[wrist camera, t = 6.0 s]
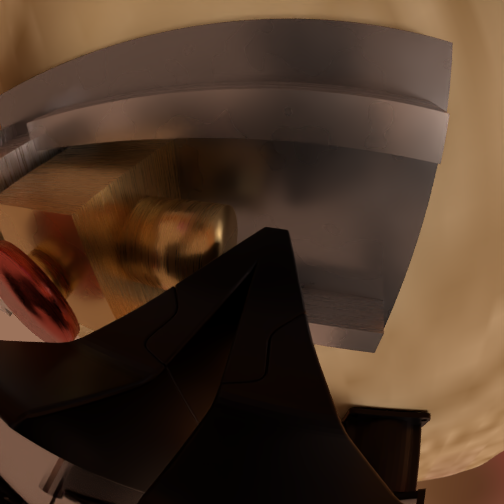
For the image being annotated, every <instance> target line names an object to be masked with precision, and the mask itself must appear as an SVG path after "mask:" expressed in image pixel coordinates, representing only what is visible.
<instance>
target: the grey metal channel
mask: <svg viewBox="0 0 504 504" xmlns="http://www.w3.org/2000/svg"><path fill="white" fill-rule="evenodd" d="M451 64H452V43H451V42H448V41H444V40H441V39H437V38H434V37H430V36H426V35H422V34H418V33H413V32H409V31H404V30H399V29H394V28H388V27H383V26H376V25H370V24H362V23H354V22H344V21H333V20H317V19H261V20H244V21H233V22H223V23H214V24H207V25H200V26H194V27H188V28H182V29H177V30H172V31H167V32H162V33H158V34H153V35H149V36H145V37H141V38H137V39H133V40H130V41H126V42H123V43H119V44H116V45H113V46H110V47H107V48H104V49H101V50H98V51H95V52H92V53H89V54H86V55H84V56H81V57H78V58H76V59H73V60H71V61H68V62H66V63H64V64H61V65H59V66H57V67H54V68H52V69H50V70H48V71H45V72H43V73H41V74H39V75H37V76H35V77H33V78H31V79H29V80H27V81H25V82H23V83H21V84H19V85H17V86H16V87H14V88H12V89H10V90H8V91H7V92H5V93H3V94H1V95H0V124H1V129H0V193H1V192H3V191H4V190H5V189H7V188H8V187H9V186H11V185H12V184H14V183H15V182H16V181H18V180H19V179H21V178H22V177H23V176H25V175H26V174H28V173H29V172H31V171H32V170H34V169H35V168H37V167H38V166H40V165H41V164H43V163H45V162H46V161H48V160H49V159H51V158H53V157H54V156H56V155H57V154H59V153H61V152H62V151H64V150H66V149H68V148H69V147H71V146H75V145H83V144H92V143H102V142H114V141H127V140H174V149H175V157H176V165H177V172H178V180H179V187H180V194H181V199H186V200H194V201H203V202H211V203H219V204H226V205H230V206H232V207H233V209H234V211H235V214H236V218H237V227H238V235H237V244H239V243H240V242H242V241H243V240H245V239H247V238H248V237H250V236H251V235H253V234H254V233H256V232H258V231H259V230H261V229H262V228H264V227H272V228H279V229H286V230H288V231H289V233H290V238H291V242H292V247H293V251H294V256H295V260H296V265H297V270H298V274H299V279H300V284H301V289H302V294H303V299H304V303H305V308H306V314H307V318H308V323H309V328H310V332H311V336H312V340H313V344H317V345H323V346H329V347H336V348H343V349H350V350H357V351H364V352H372V353H375V351H376V349H377V346H378V344H379V342H380V340H381V338H382V336H383V334H384V327H385V325H386V322H387V320H388V318H389V315H390V313H391V311H392V308H393V306H394V303H395V301H396V299H397V296H398V293H399V291H400V288H401V286H402V283H403V280H404V278H405V275H406V272H407V269H408V267H409V264H410V261H411V258H412V255H413V252H414V249H415V246H416V243H417V240H418V237H419V233H420V230H421V227H422V223H423V220H424V217H425V213H426V209H427V206H428V202H429V198H430V194H431V190H432V186H433V182H434V178H435V173H436V169H437V164H440V163H441V159H442V154H443V149H444V143H445V138H446V132H447V126H448V119H449V113H447V106H448V98H449V88H450V78H451ZM0 240H1V239H0ZM165 291H166V290H164V292H165ZM0 310H2V311H3V312H5V313H6V314H7V315H9V316H11V314H12V313H13V312H12V311H11V310H10V309H9V308H8V306H7V305H6V304H5V303H4V301H3V300H2V299H1V297H0Z"/></svg>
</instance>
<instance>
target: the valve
mask: <svg viewBox="0 0 504 504" xmlns="http://www.w3.org/2000/svg"><path fill="white" fill-rule="evenodd" d="M237 235H238V227H237V218H236V214H235V211H234V209H233V207H232V206H230V205H226V204H219V203H211V202H203V201H194V200H186V199H181V194H180V187H179V180H178V172H177V165H176V157H175V149H174V140H127V141H114V142H102V143H92V144H83V145H75V146H71V147H69V148H68V149H66V150H64V151H62V152H61V153H59V154H57V155H56V156H54V157H53V158H51V159H49V160H48V161H46V162H45V163H43V164H41V165H40V166H38V167H37V168H35V169H34V170H32V171H31V172H29V173H28V174H26V175H25V176H23V177H22V178H21V179H19V180H18V181H16V182H15V183H14V184H12V185H11V186H9V187H8V188H7V189H5V190H4V191H3V192H1V193H0V239H1V240H0V297H1V299H2V300H3V301H4V303H5V304H6V305H7V306H8V308H9V309H10V310H11V311H12V312H13V314H14V315H15V316H16V317H17V318H18V319H19V320H20V321H21V322H22V323H23V324H24V325H25V326H26V327H27V328H28V329H30V330H31V331H32V332H33V333H34V334H35V335H37V336H38V337H39V338H40V339H42V340H43V341H45V342H52V343H61V342H69V341H73V340H74V339H75V338H76V336H77V335H78V333H79V331H80V327H79V324H81V325H83V326H85V327H88V328H90V329H92V330H94V331H96V330H98V329H100V328H102V327H103V326H105V325H107V324H109V323H111V322H113V321H115V320H117V319H118V318H120V317H122V316H124V315H126V314H128V313H130V312H131V311H133V310H135V309H137V308H138V307H140V306H142V305H144V304H146V303H147V302H149V301H150V300H152V299H154V298H155V297H157V296H158V295H160V294H162V293H163V292H164V290H168V289H169V288H171V287H172V286H175V285H176V284H177V283H179V282H180V281H182V280H183V279H185V278H186V277H188V276H189V275H191V274H192V273H194V272H195V271H197V270H199V269H200V268H202V267H203V266H205V265H206V264H208V263H209V262H211V261H212V260H214V259H215V258H217V257H219V256H220V255H222V254H223V253H225V252H226V251H228V250H229V249H231V248H233V247H234V246H236V245H237Z"/></svg>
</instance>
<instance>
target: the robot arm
mask: <svg viewBox="0 0 504 504" xmlns="http://www.w3.org/2000/svg"><path fill="white" fill-rule="evenodd" d="M430 416H431V415H430V413H414V412H396V411H383V410H371V409H362V408H351V409H349V411H348V412H347V414H346V415H345V417H344V418H343V420H342V422H341V420H340V418H339V416H338V413H337V410H336V408H335V405H334V402H333V399H332V397H331V394H330V391H329V388H328V385H327V383H326V380H325V377H324V374H323V371H322V369H321V366H320V363H319V360H318V357H317V354H316V351H315V347H314V344H313V340H312V336H311V332H310V328H309V323H308V318H307V314H306V308H305V303H304V299H303V294H302V289H301V284H300V279H299V274H298V270H297V265H296V260H295V256H294V251H293V247H292V242H291V238H290V233H289V231H288V230H286V229H279V228H272V227H264V228H262V229H261V230H259V231H258V232H256V233H254V234H253V235H251V236H250V237H248V238H247V239H245V240H243V241H242V242H240V243H239V244H237V245H236V246H234V247H233V248H231V249H229V250H228V251H226V252H225V253H223V254H222V255H220V256H219V257H217V258H215V259H214V260H212V261H211V262H209V263H208V264H206V265H205V266H203V267H202V268H200V269H199V270H197V271H195V272H194V273H192V274H191V275H189V276H188V277H186V278H185V279H183V280H182V281H180V282H179V283H177V284H176V285H175V286H172V287H171V288H169V289H168V290H166V291H165V292H163V293H162V294H160V295H158V296H157V297H155V298H154V299H152V300H150V301H149V302H147V303H146V304H144V305H142V306H140V307H138V308H137V309H135V310H133V311H131V312H130V313H128V314H126V315H124V316H122V317H120V318H118V319H117V320H115V321H113V322H111V323H109V324H107V325H105V326H103V327H102V328H100V329H98V330H96V331H94V332H92V333H90V334H88V335H86V336H84V337H82V338H80V339H77V340H73V341H69V342H61V343H52V342H22V341H3V340H0V504H415V503H416V504H424V498H425V490H426V489H419V490H418V491H416V485H417V477H418V468H419V457H420V443H421V427H422V426H424V425H425V424H426V423H427V422H428V421H430Z"/></svg>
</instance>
